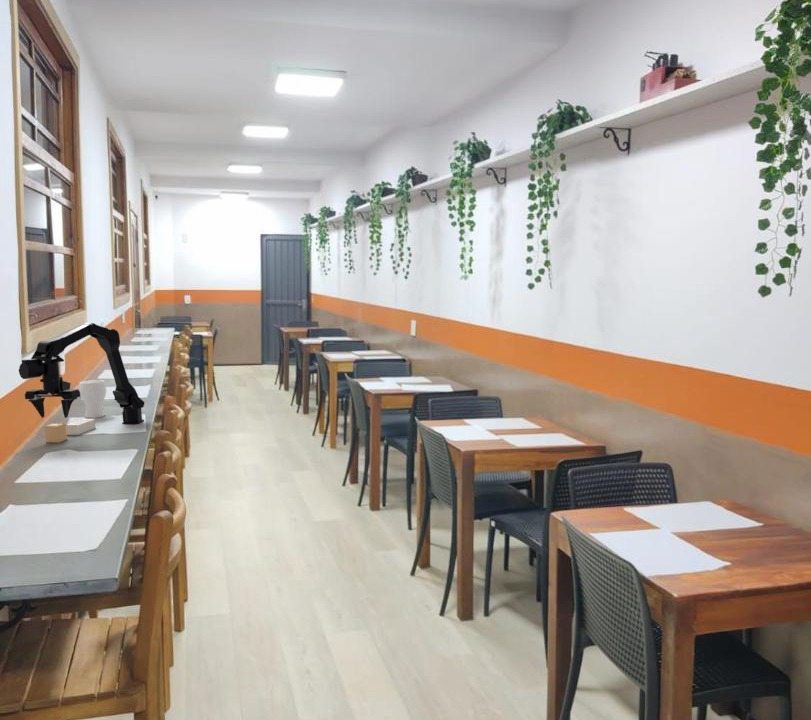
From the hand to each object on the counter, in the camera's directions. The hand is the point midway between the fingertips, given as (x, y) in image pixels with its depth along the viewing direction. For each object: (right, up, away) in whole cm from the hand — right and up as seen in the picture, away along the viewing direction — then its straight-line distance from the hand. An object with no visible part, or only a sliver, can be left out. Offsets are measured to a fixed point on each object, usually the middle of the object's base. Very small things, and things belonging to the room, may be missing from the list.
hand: (54, 417), depth 273 cm
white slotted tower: (+3, -7, +16) cm, 18 cm away
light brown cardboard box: (0, -9, +1) cm, 9 cm away
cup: (-4, -3, +45) cm, 46 cm away
